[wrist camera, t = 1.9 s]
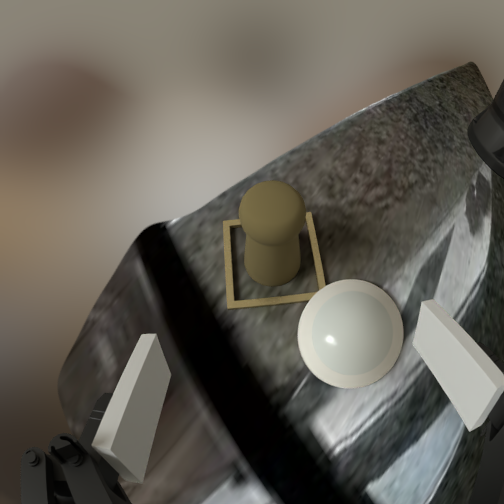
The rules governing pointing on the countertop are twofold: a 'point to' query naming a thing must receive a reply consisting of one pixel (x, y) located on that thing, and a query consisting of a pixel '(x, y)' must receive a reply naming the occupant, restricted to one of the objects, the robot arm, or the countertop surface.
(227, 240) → the square frame
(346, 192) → the countertop surface
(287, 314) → the countertop surface
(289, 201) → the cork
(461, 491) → the countertop surface
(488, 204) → the countertop surface
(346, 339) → the saucer
